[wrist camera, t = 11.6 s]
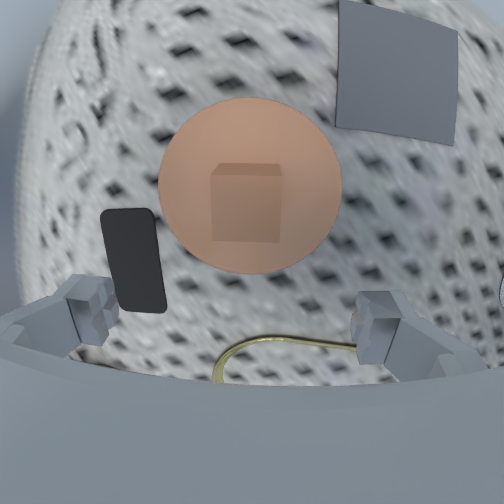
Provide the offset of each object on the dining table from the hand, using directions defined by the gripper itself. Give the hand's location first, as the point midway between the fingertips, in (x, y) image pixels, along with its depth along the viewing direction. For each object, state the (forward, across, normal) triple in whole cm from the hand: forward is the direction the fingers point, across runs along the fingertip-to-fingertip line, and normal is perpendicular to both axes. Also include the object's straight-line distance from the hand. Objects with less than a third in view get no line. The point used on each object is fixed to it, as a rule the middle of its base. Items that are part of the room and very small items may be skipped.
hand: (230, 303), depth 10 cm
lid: (+14, 0, 0) cm, 14 cm away
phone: (+26, -15, -13) cm, 33 cm away
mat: (+26, +16, +12) cm, 33 cm away
